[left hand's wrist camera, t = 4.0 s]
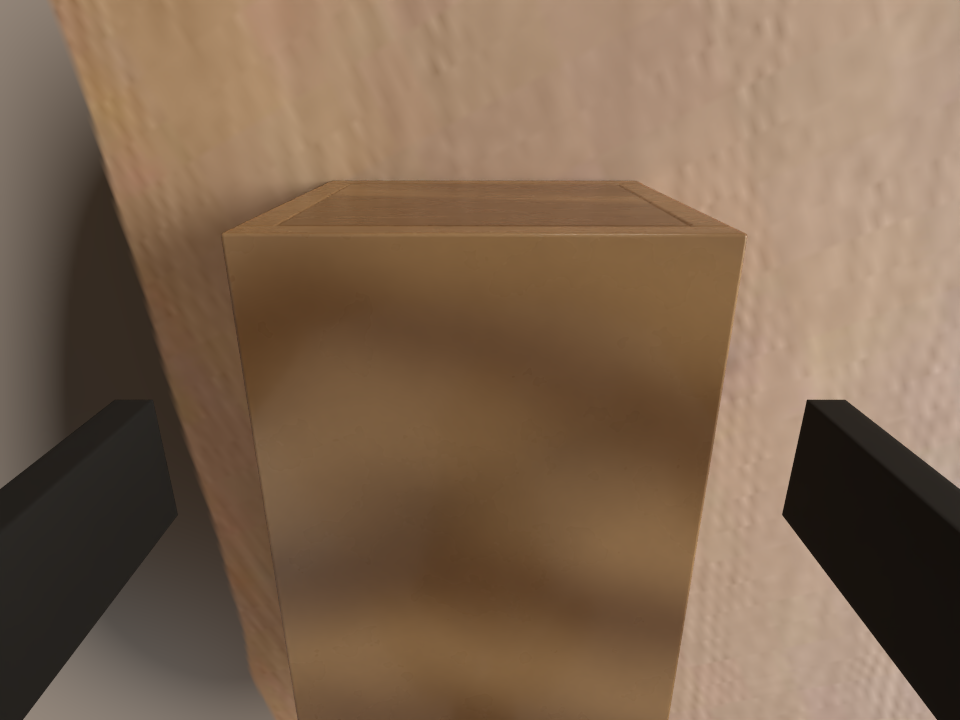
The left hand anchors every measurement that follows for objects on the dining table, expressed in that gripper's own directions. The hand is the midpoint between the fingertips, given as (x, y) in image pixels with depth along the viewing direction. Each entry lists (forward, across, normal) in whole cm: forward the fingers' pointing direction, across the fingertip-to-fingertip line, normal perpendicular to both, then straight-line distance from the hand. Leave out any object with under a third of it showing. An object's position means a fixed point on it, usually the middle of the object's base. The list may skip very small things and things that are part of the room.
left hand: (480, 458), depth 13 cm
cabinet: (+12, 0, -5) cm, 13 cm away
